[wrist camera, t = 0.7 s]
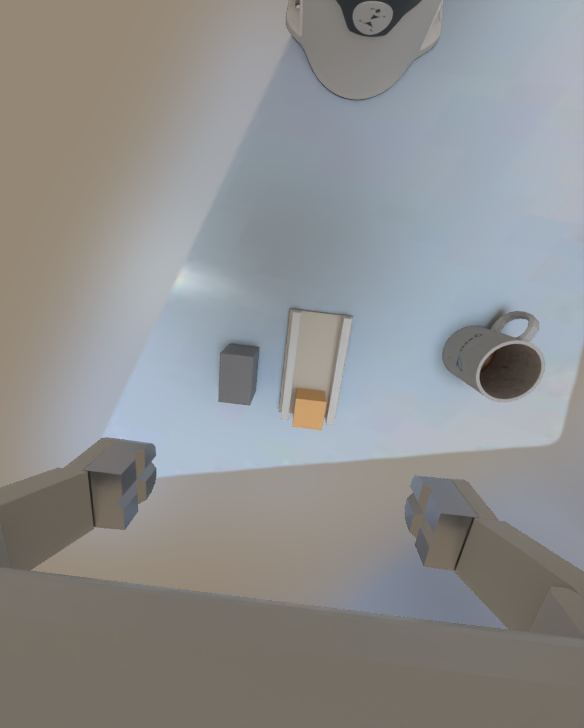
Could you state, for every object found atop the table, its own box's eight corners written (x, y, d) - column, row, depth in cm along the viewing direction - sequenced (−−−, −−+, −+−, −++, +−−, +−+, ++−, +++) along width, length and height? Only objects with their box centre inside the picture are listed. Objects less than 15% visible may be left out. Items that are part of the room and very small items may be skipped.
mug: (465, 386, 50) (503, 413, 40) (431, 354, 48) (462, 374, 39) (527, 333, 47) (584, 349, 37) (493, 296, 45) (543, 303, 36)
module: (230, 343, 49) (220, 353, 44) (259, 347, 49) (253, 357, 44) (227, 387, 52) (218, 401, 46) (255, 390, 52) (249, 405, 46)
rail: (290, 308, 47) (288, 313, 42) (352, 316, 47) (358, 322, 42) (279, 409, 53) (276, 424, 47) (334, 415, 52) (337, 432, 47)
